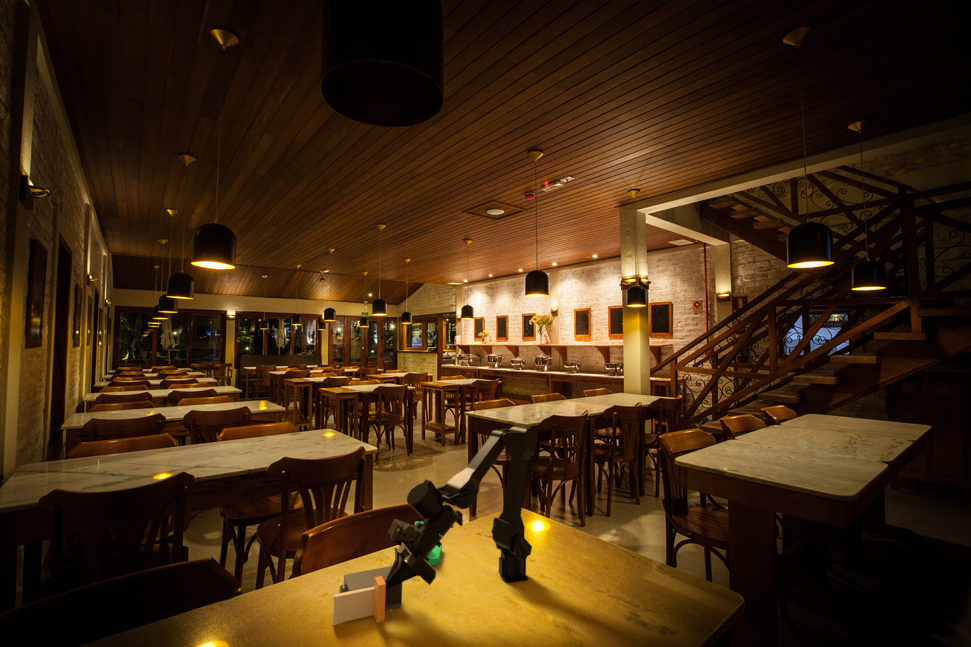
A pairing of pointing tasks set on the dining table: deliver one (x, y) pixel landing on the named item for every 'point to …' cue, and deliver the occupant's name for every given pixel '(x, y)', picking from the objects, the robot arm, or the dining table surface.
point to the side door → (361, 603)
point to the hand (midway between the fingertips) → (384, 587)
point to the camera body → (367, 580)
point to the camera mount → (434, 554)
